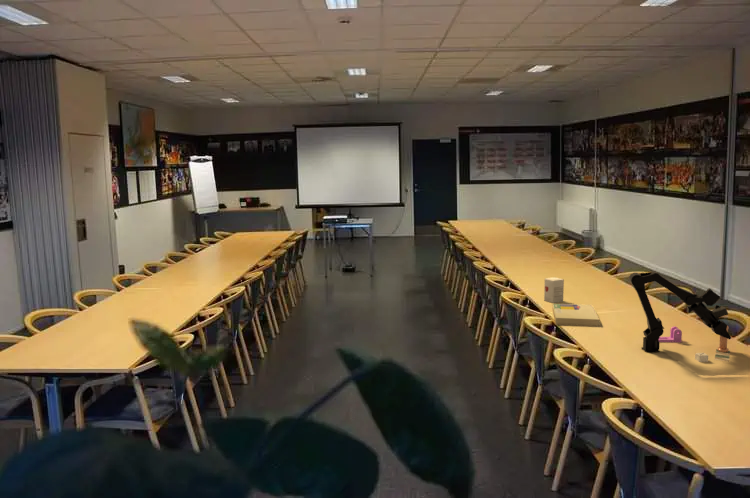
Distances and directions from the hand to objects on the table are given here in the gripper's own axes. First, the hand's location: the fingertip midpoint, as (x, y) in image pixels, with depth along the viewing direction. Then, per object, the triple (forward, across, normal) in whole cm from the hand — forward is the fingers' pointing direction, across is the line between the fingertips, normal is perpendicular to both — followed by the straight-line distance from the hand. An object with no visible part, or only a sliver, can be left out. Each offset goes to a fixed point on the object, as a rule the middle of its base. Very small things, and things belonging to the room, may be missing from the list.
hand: (727, 335), depth 305 cm
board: (+4, -6, +9) cm, 11 cm away
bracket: (-10, +18, +22) cm, 31 cm away
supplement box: (-45, +103, +57) cm, 126 cm away
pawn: (+4, 0, +6) cm, 8 cm away
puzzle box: (-38, +61, +51) cm, 89 cm away
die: (-5, -16, +17) cm, 23 cm away
